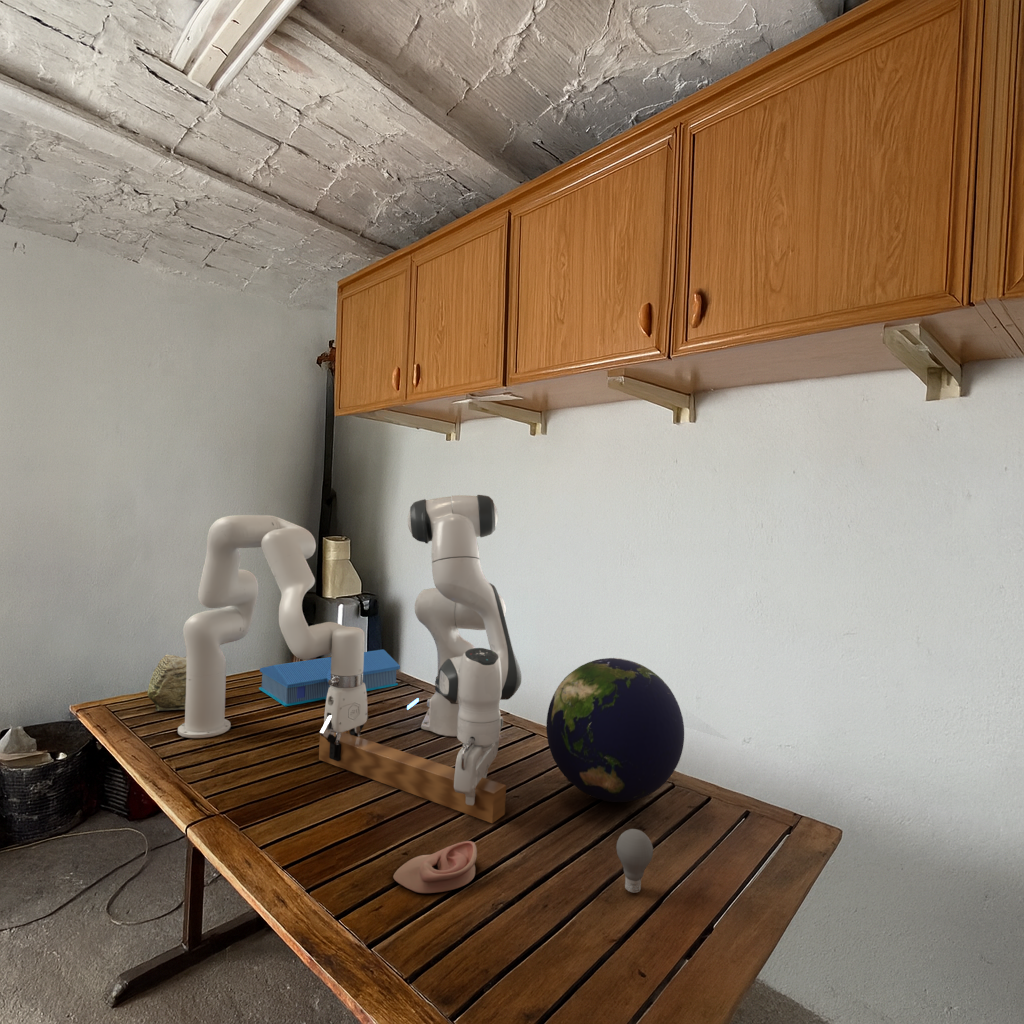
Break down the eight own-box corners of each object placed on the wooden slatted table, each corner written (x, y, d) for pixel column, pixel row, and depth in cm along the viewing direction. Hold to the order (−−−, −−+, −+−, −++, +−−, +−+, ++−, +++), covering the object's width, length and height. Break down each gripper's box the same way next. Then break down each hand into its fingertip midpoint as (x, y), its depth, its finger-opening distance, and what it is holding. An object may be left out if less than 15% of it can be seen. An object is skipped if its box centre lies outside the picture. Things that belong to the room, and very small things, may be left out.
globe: (523, 809, 132) (530, 666, 131) (566, 757, 160) (571, 639, 159) (669, 844, 121) (677, 688, 120) (688, 782, 148) (694, 654, 148)
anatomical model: (386, 863, 103) (411, 828, 115) (385, 887, 104) (410, 850, 115) (465, 876, 101) (482, 839, 112) (463, 901, 101) (481, 861, 112)
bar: (318, 759, 152) (319, 734, 152) (333, 753, 156) (334, 729, 156) (492, 823, 126) (493, 793, 126) (505, 814, 130) (506, 784, 130)
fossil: (144, 707, 182) (145, 655, 182) (212, 696, 194) (213, 647, 194) (151, 716, 175) (153, 662, 175) (221, 703, 188) (223, 653, 188)
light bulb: (610, 879, 108) (613, 822, 108) (644, 879, 109) (647, 822, 109) (619, 902, 102) (622, 840, 102) (655, 901, 103) (658, 840, 103)
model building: (289, 709, 186) (291, 675, 185) (258, 688, 204) (259, 657, 204) (403, 687, 212) (405, 657, 212) (366, 670, 230) (368, 643, 230)
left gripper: (330, 691, 141) (327, 772, 142) (383, 675, 156) (380, 748, 156) (307, 684, 145) (304, 763, 146) (361, 669, 160) (358, 741, 160)
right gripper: (479, 750, 120) (475, 822, 120) (505, 715, 140) (502, 777, 140) (447, 746, 121) (444, 817, 121) (477, 712, 141) (475, 773, 141)
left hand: (343, 754), depth 151 cm, fingers closed on bar, 4 cm apart
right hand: (475, 795), depth 131 cm, fingers closed on bar, 5 cm apart
